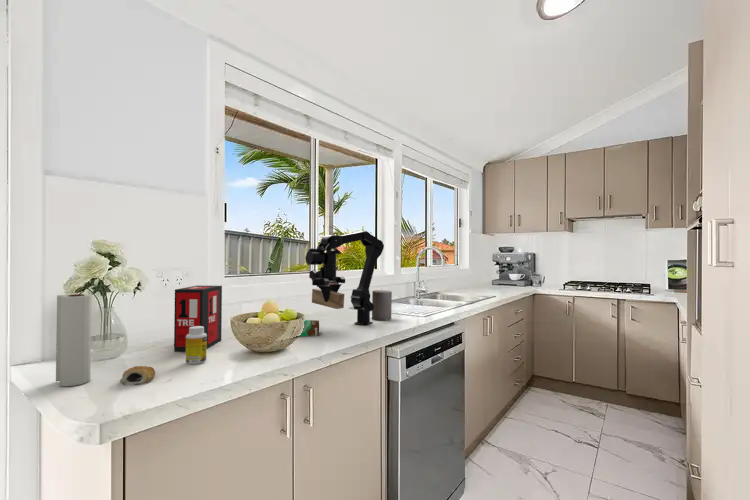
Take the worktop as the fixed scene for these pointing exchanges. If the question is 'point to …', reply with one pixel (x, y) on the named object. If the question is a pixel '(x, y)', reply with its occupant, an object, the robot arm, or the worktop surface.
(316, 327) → the food container
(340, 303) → the block
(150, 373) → the pastry
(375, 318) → the pillar candle
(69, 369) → the grey tall cylinder
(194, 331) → the supplement bottle
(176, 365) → the worktop surface
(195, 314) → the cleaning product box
